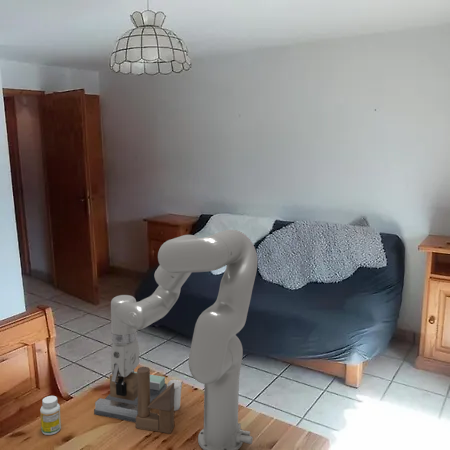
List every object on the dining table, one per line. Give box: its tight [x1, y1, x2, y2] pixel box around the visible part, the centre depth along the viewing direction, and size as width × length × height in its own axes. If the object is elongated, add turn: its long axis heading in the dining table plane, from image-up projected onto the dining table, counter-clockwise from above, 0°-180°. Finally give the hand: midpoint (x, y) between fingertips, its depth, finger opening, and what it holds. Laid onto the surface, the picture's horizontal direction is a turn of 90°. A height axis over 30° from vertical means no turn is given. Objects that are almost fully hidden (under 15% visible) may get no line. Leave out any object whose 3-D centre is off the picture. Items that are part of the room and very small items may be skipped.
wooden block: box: [135, 366, 175, 434], centre depth 133 cm, size 4×11×18 cm, turn 78°
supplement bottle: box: [39, 395, 62, 436], centre depth 132 cm, size 5×5×10 cm
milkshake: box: [166, 379, 184, 412], centre depth 144 cm, size 5×5×10 cm
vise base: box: [93, 383, 168, 423], centre depth 148 cm, size 15×21×4 cm
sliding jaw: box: [134, 371, 166, 391], centre depth 156 cm, size 14×5×2 cm, turn 74°
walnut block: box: [109, 372, 138, 401], centre depth 143 cm, size 8×4×7 cm, turn 74°
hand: (125, 390), depth 144 cm, fingers closed on walnut block, 4 cm apart
